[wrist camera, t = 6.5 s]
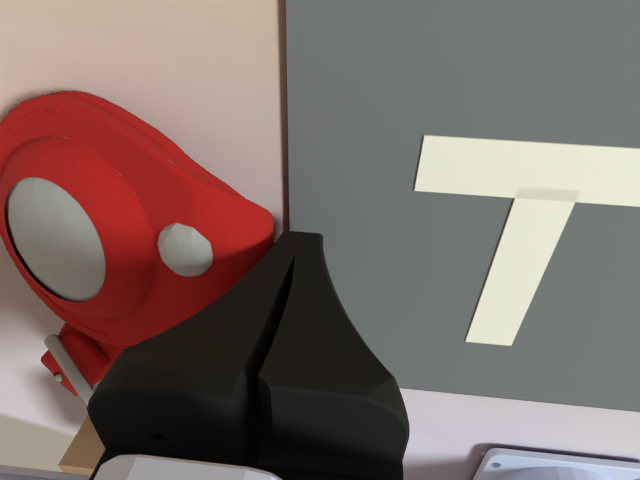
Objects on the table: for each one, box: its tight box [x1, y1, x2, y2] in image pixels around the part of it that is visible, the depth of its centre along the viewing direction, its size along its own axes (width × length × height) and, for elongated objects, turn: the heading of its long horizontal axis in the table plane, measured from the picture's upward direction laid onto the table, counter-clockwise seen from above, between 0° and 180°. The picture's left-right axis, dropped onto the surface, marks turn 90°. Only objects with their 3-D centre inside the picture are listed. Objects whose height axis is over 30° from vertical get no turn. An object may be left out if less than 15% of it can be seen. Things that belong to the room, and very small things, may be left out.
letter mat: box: [286, 0, 640, 412], centre depth 14 cm, size 16×16×1 cm
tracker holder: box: [0, 91, 274, 406], centre depth 14 cm, size 12×4×10 cm
